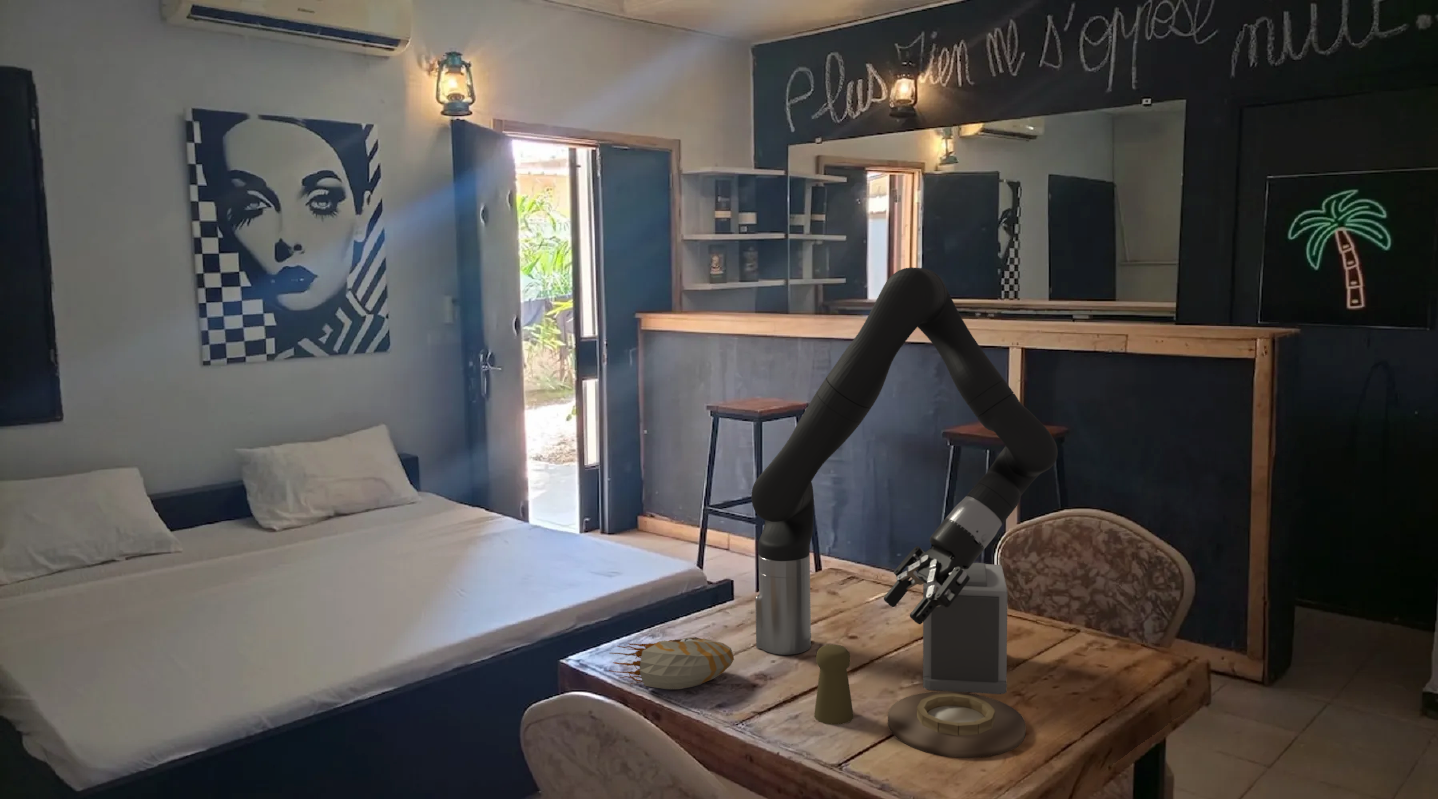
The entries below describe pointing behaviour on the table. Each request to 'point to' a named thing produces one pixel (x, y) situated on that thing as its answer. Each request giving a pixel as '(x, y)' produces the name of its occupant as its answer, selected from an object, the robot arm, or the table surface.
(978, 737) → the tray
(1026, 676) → the table surface
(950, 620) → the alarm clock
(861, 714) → the table surface
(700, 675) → the nautilus
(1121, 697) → the table surface
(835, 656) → the cork
